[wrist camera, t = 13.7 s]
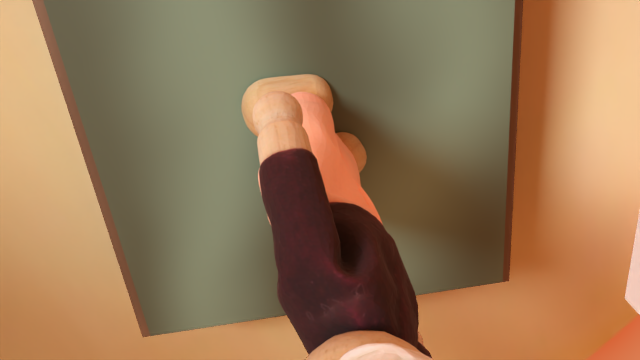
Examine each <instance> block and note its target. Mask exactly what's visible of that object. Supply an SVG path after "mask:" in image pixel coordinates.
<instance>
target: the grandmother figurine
mask: <svg viewBox="0 0 640 360" xmlns="http://www.w3.org/2000/svg"><path fill="white" fill-rule="evenodd" d="M241 108H242V114H243V118H244V120H245V123H246V125H247V127H248V128H249V129H250V131H251V132H252V133H253V134H255V135H256V136H258V138H257V147H258V155H259V162H260V168H259V171H258V182H259V187H260V191H261V195H262V199H263V203H264V206H265V210H266V212H267V216H268V220H269V222H270V225H271V228H272V234H273V242H274V256H275V261H276V266H277V270H278V282H277V296H278V300H279V303H280V305H281V307H282V308H283V310H284V312H285V313H286V315H287V316H288V318H289V319H290V322H291V323H292V325H293V326H294V328H295V330H296V332H297V334H298V335H299V337H300V339H301V341H302V343H303V345H304V347H305V348H306V350H307V352H308V354H309V355H308V357H307V358H306V359H305V360H433V359H432V357H431V355H430V353H429V351H428V350H427V349H426V348H425V347H424V345H423V340H422V337H421V335H420V333H419V332H418V324H419V323H418V304H417V300H416V295H415V292H414V289H413V286H412V284H411V282H410V279H409V276H408V274H407V272H406V269H405V267H404V264H403V261H402V259H401V257H400V254H399V251H398V248H397V246H396V243H395V241H394V239H393V238H392V236H391V235H390V234H389V233H387V231H386V230H385V228H384V226H383V224H382V221H381V219H380V216H379V214H378V212H377V210H376V208H375V206H374V204H373V202H372V201H371V199H370V198H369V196H368V195H367V193H366V192H365V191H364V190H363V188H362V187H361V183H360V175H359V173H360V172H361V170H362V169H363V168H364V166H365V164H366V160H367V155H366V151H365V148H364V147H363V145H362V143H361V142H360V141H359V139H358V138H357V137H356V136H354V135H353V134H350V133H347V132H338V133H335V129H334V122H333V118H332V115H331V111H332V108H333V97H332V92H331V89H330V87H329V85H328V84H327V82H326V81H325V80H324V79H323V78H321V77H319V76H317V75H313V74H302V75H292V76H279V77H271V78H264V79H260V80H258V81H256V82H254V83H253V84H252V85H250V86H249V87H248V88H247V90H246V91H245V93H244V95H243V98H242V105H241Z"/></svg>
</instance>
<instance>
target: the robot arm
mask: <svg viewBox="0 0 640 360" xmlns="http://www.w3.org/2000/svg"><path fill="white" fill-rule="evenodd" d="M625 299H626V301H627V302H628V303H629V304H630V305H631V306H632V307H633V308H634V309H635V310H636V312H637V313H638V314H639V315H640V211H639V217H638V223H637V229H636V235H635V240H634V246H633V252H632V258H631V264H630V270H629V276H628V281H627V287H626V293H625Z"/></svg>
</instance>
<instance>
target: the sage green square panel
mask: <svg viewBox="0 0 640 360" xmlns="http://www.w3.org/2000/svg"><path fill="white" fill-rule="evenodd" d="M32 1H33V4H34V7H35V10H36V13H37V16H38V19H39V22H40V25H41V28H42V31H43V34H44V37H45V40H46V44H47V47H48V50H49V53H50V56H51V59H52V62H53V65H54V68H55V71H56V74H57V77H58V80H59V83H60V86H61V89H62V92H63V95H64V98H65V101H66V104H67V108H68V111H69V114H70V117H71V120H72V123H73V126H74V129H75V132H76V135H77V138H78V141H79V144H80V147H81V150H82V153H83V156H84V159H85V162H86V165H87V168H88V172H89V175H90V178H91V181H92V184H93V187H94V190H95V193H96V196H97V199H98V202H99V205H100V208H101V211H102V214H103V217H104V220H105V223H106V226H107V229H108V232H109V235H110V239H111V242H112V245H113V248H114V251H115V254H116V257H117V260H118V263H119V266H120V269H121V272H122V275H123V278H124V281H125V284H126V287H127V290H128V293H129V296H130V299H131V303H132V306H133V309H134V312H135V315H136V318H137V321H138V324H139V327H140V330H141V333H142V336H143V337H147V336H154V335H160V334H167V333H173V332H180V331H186V330H193V329H199V328H206V327H213V326H219V325H226V324H232V323H239V322H245V321H252V320H258V319H265V318H271V317H278V316H284V315H286V313H285V312H284V310H283V308H282V307H281V305H280V303H279V300H278V296H277V282H278V270H277V266H276V261H275V256H274V242H273V234H272V228H271V225H270V222H269V220H268V216H267V212H266V210H265V206H264V203H263V199H262V195H261V191H260V187H259V182H258V171H259V168H260V162H259V155H258V147H257V138H258V136H256V135H255V134H253V133H252V132H251V131H250V129H249V128H248V127H247V125H246V123H245V120H244V118H243V114H242V108H241V105H242V98H243V95H244V93H245V91H246V90H247V88H248V87H249V86H250V85H252V84H253V83H254V82H256V81H258V80H260V79H264V78H271V77H279V76H292V75H302V74H313V75H317V76H319V77H321V78H323V79H324V80H325V81H326V82H327V84H328V85H329V87H330V89H331V92H332V97H333V108H332V111H331V115H332V118H333V122H334V129H335V133H338V132H347V133H350V134H353V135H354V136H356V137H357V138H358V139H359V141H360V142H361V143H362V145H363V147H364V148H365V151H366V155H367V160H366V164H365V166H364V168H363V169H362V170H361V172H360V173H359V175H360V183H361V187H362V188H363V190H364V191H365V192H366V193H367V195H368V196H369V198H370V199H371V201H372V202H373V204H374V206H375V208H376V210H377V212H378V214H379V216H380V219H381V221H382V224H383V226H384V228H385V230H386V231H387V233H389V234H390V235H391V236H392V238H393V239H394V241H395V243H396V246H397V248H398V251H399V254H400V257H401V259H402V261H403V264H404V267H405V269H406V272H407V274H408V276H409V279H410V282H411V284H412V286H413V289H414V292H415V295H421V294H428V293H434V292H441V291H447V290H454V289H460V288H467V287H473V286H480V285H486V284H493V283H499V282H506V281H509V271H510V251H511V231H512V211H513V191H514V171H515V152H516V132H517V112H518V92H519V72H520V52H521V32H522V12H523V0H32Z"/></svg>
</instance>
